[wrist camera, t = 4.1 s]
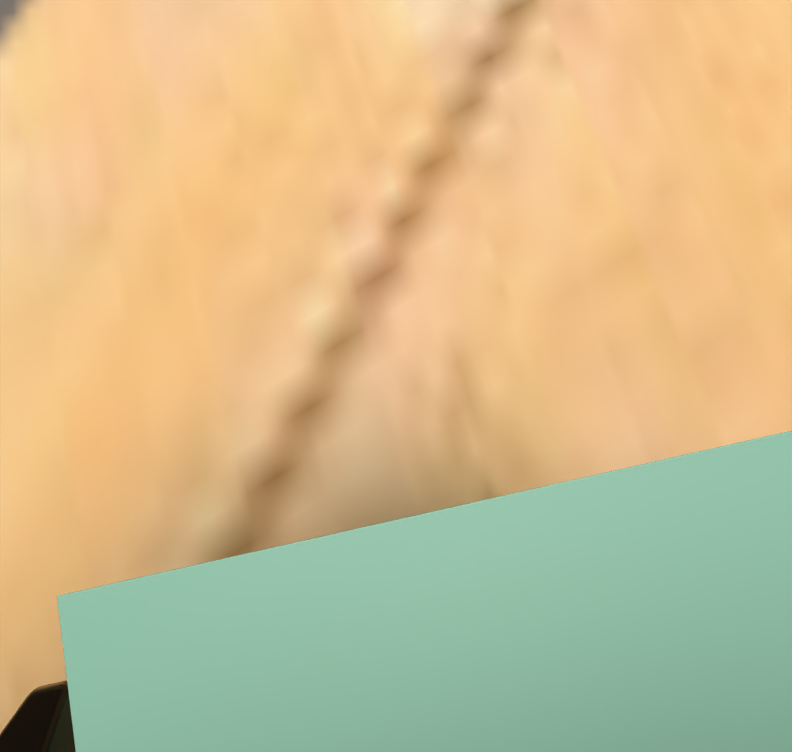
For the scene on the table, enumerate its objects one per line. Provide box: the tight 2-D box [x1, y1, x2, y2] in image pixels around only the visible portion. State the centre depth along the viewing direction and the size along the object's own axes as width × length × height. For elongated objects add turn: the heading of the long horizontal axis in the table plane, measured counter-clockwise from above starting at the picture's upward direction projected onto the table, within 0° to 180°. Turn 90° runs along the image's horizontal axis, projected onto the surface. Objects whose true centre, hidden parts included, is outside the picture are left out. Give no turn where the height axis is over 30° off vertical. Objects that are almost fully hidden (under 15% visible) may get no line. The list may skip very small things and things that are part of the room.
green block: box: [57, 431, 792, 752], centre depth 9 cm, size 4×4×13 cm
